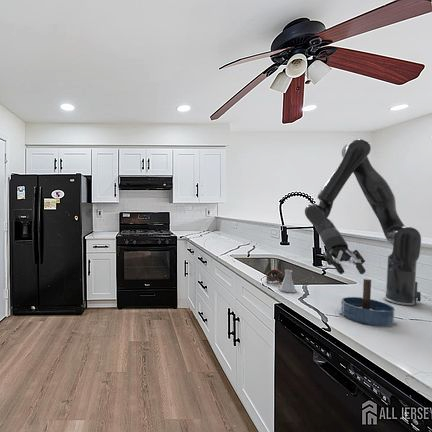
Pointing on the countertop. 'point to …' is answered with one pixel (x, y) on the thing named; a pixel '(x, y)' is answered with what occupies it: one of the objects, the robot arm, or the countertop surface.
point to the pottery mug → (275, 276)
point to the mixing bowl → (367, 311)
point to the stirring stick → (366, 294)
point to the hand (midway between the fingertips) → (352, 273)
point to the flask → (288, 282)
